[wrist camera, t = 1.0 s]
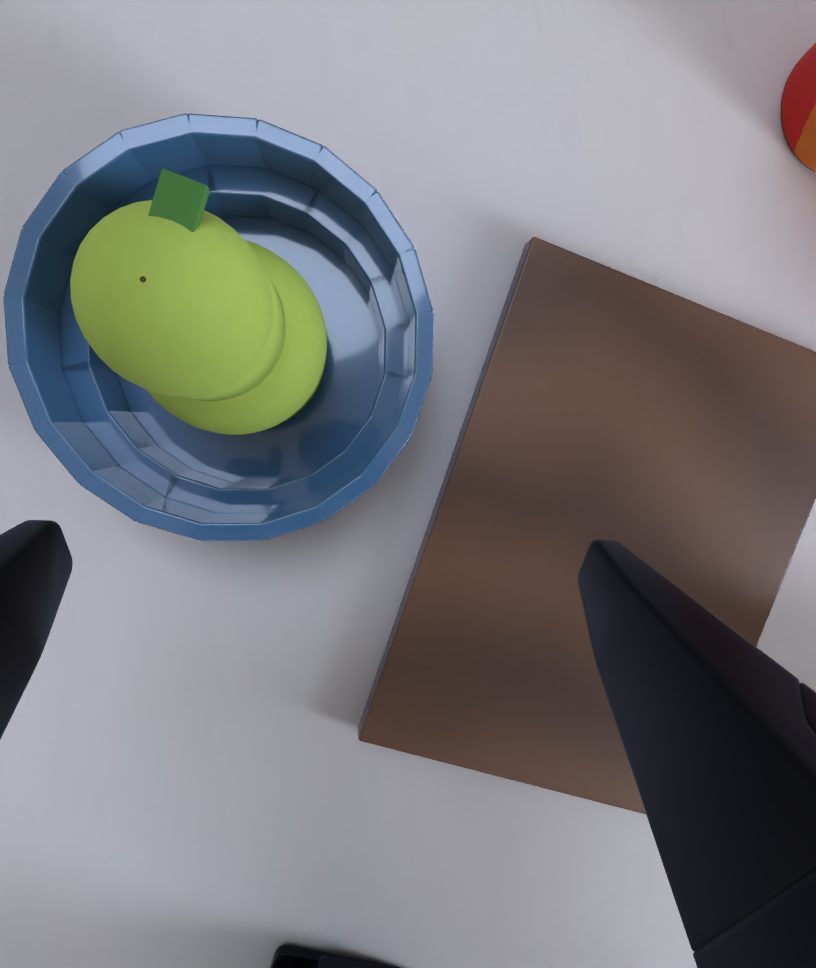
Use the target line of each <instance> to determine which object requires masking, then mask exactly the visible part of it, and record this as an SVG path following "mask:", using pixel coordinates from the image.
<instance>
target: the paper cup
mask: <svg viewBox="0 0 816 968" xmlns="http://www.w3.org/2000/svg"><path fill="white" fill-rule="evenodd" d="M781 116H782V125H783V129H784V133H785V136H786V139H787V141H788V143H789V145H790V147H791V149H792V151H793V152H794V154H795V155H796V156H797V157H798V159H799V160H800V161H801V162H802V163H803V164H805V165H806V166H807V167H809V168H810V169H812V170H813V171H815V172H816V43H815V44H814V45H813V46H812V47H811V48H810V49H809V50H808V51H807V52H806V53H805V54H804V56H803V57H802V58H801V59H800V60H799V61H798V63H797V64H796V65H795V67H794V68H793V70H792V72H791V74H790V75H789V78H788V80H787V82H786V85H785V89H784V92H783V97H782V106H781Z"/></svg>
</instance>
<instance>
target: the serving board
mask: <svg viewBox="0 0 816 968" xmlns="http://www.w3.org/2000/svg"><path fill="white" fill-rule="evenodd" d="M815 499H816V352H814V351H812V350H809V349H807V348H804V347H802V346H799V345H797V344H795V343H792V342H790V341H787V340H785V339H782V338H780V337H778V336H775V335H773V334H770V333H768V332H765V331H763V330H760V329H758V328H756V327H753V326H751V325H748V324H746V323H743V322H741V321H739V320H736V319H734V318H731V317H729V316H726V315H724V314H721V313H719V312H717V311H714V310H712V309H709V308H707V307H704V306H702V305H700V304H697V303H695V302H692V301H690V300H687V299H685V298H682V297H680V296H678V295H675V294H673V293H670V292H668V291H665V290H663V289H661V288H658V287H656V286H653V285H651V284H648V283H646V282H643V281H641V280H639V279H636V278H634V277H631V276H629V275H626V274H624V273H622V272H619V271H617V270H614V269H612V268H609V267H607V266H604V265H602V264H600V263H597V262H595V261H592V260H590V259H587V258H585V257H583V256H580V255H578V254H575V253H573V252H570V251H568V250H565V249H563V248H561V247H558V246H556V245H553V244H551V243H548V242H546V241H543V240H541V239H539V238H536V237H532V238H531V240H530V241H529V242H528V243H527V244H526V245H525V247H524V250H523V253H522V256H521V259H520V262H519V264H518V267H517V270H516V273H515V276H514V279H513V282H512V285H511V288H510V290H509V293H508V296H507V299H506V302H505V305H504V308H503V311H502V314H501V316H500V319H499V322H498V325H497V328H496V331H495V334H494V337H493V340H492V342H491V345H490V348H489V351H488V354H487V357H486V360H485V363H484V366H483V368H482V371H481V374H480V377H479V380H478V383H477V386H476V389H475V392H474V394H473V397H472V400H471V403H470V406H469V409H468V412H467V415H466V418H465V420H464V423H463V426H462V429H461V432H460V435H459V438H458V441H457V443H456V446H455V449H454V452H453V455H452V458H451V461H450V464H449V467H448V469H447V472H446V475H445V478H444V481H443V484H442V487H441V490H440V493H439V495H438V498H437V501H436V504H435V507H434V510H433V513H432V516H431V519H430V521H429V524H428V527H427V530H426V533H425V536H424V539H423V542H422V545H421V547H420V550H419V553H418V556H417V559H416V562H415V565H414V568H413V571H412V573H411V576H410V579H409V582H408V585H407V588H406V591H405V594H404V597H403V599H402V602H401V605H400V608H399V611H398V614H397V617H396V620H395V623H394V625H393V628H392V631H391V634H390V637H389V640H388V643H387V646H386V649H385V651H384V654H383V657H382V660H381V663H380V666H379V669H378V672H377V675H376V677H375V680H374V683H373V686H372V689H371V692H370V695H369V698H368V701H367V703H366V706H365V709H364V712H363V715H362V718H361V721H360V724H359V727H358V735H359V740H360V741H364V742H367V743H371V744H375V745H379V746H383V747H387V748H391V749H395V750H399V751H402V752H406V753H410V754H414V755H418V756H422V757H426V758H430V759H433V760H437V761H441V762H445V763H449V764H453V765H457V766H461V767H465V768H468V769H472V770H476V771H480V772H484V773H488V774H492V775H496V776H500V777H503V778H507V779H511V780H515V781H519V782H523V783H527V784H531V785H534V786H538V787H542V788H546V789H550V790H554V791H558V792H562V793H566V794H569V795H573V796H577V797H581V798H585V799H589V800H593V801H597V802H601V803H604V804H608V805H612V806H616V807H620V808H624V809H628V810H632V811H636V812H639V813H643V814H646V812H645V809H644V806H643V803H642V800H641V797H640V794H639V791H638V788H637V785H636V782H635V779H634V776H633V773H632V770H631V767H630V764H629V761H628V758H627V755H626V752H625V749H624V746H623V743H622V740H621V737H620V734H619V731H618V728H617V725H616V722H615V719H614V716H613V713H612V710H611V707H610V704H609V701H608V698H607V695H606V692H605V689H604V686H603V683H602V680H601V677H600V674H599V671H598V668H597V665H596V662H595V658H594V654H593V650H592V645H591V640H590V636H589V631H588V627H587V622H586V617H585V613H584V608H583V603H582V599H581V594H580V589H579V584H578V574H579V570H580V568H581V565H582V563H583V560H584V558H585V555H586V553H587V550H588V548H589V546H590V544H591V543H592V541H594V540H597V539H602V540H616V541H618V542H620V543H621V544H622V545H624V546H625V547H626V548H628V549H629V550H630V551H631V552H633V553H634V554H635V555H637V556H638V557H639V558H641V559H642V560H643V561H645V562H646V563H647V564H648V565H650V566H651V567H652V568H654V569H655V570H656V571H658V572H659V573H660V574H662V575H663V576H664V577H665V578H667V579H668V580H669V581H671V582H672V583H673V584H675V585H676V586H677V587H679V588H680V589H681V590H682V591H684V592H685V593H686V594H688V595H689V596H690V597H692V598H693V599H694V600H696V601H697V602H698V603H699V604H701V605H702V606H703V607H705V608H706V609H707V610H709V611H710V612H711V613H712V614H714V615H715V616H716V617H718V618H719V619H720V620H722V621H723V622H724V623H726V624H727V625H728V626H729V627H731V628H732V629H733V630H735V631H736V632H737V633H739V634H740V635H741V636H743V637H744V638H745V639H746V640H748V641H749V642H750V643H752V644H753V645H754V646H756V645H757V643H758V640H759V638H760V636H761V633H762V631H763V628H764V626H765V623H766V621H767V618H768V616H769V613H770V611H771V608H772V606H773V603H774V601H775V598H776V596H777V593H778V591H779V588H780V586H781V583H782V581H783V578H784V576H785V573H786V571H787V569H788V566H789V564H790V561H791V559H792V556H793V554H794V551H795V549H796V546H797V544H798V541H799V539H800V536H801V534H802V531H803V529H804V526H805V524H806V521H807V519H808V516H809V514H810V511H811V509H812V507H813V504H814V502H815Z"/></svg>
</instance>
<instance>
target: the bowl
mask: <svg viewBox="0 0 816 968" xmlns="http://www.w3.org/2000/svg"><path fill="white" fill-rule="evenodd" d="M162 168H163V169H166V170H168V171H171V172H174V173H176V174H179V175H181V176H184V177H186V178H189V179H192V180H194V181H197V182H199V183H202V184H204V185H207V186H208V188H209V190H210V192H209V196H208V199H207V202H206V206H205V209H204V210H205V211H207V212H209V213H211V214H213V215H215V216H217V217H219V218H220V219H221V220H223V221H224V222H225V223H227V224H228V225H229V226H231V227H232V228H233V229H234V230H235V231H236V232H237V233H238V234H239V235H240V236H241V237H242V238H243V239H244V240H246V241H249V242H253V243H255V244H258V245H260V246H262V247H264V248H267V249H268V250H270V251H272V252H273V253H275V254H277V255H278V256H280V257H281V258H283V259H284V260H285V261H286V262H288V263H289V264H290V265H291V266H292V267H293V268H294V269H295V270H296V271H297V272H298V273H299V274H300V275H301V276H302V278H303V279H304V280H305V281H306V283H307V284H308V285H309V287H310V289H311V290H312V292H313V294H314V296H315V297H316V299H317V301H318V304H319V306H320V309H321V311H322V314H323V318H324V322H325V327H326V334H327V352H326V362H325V370H324V374H323V378H322V381H321V383H320V386H319V388H318V390H317V391H316V393H315V395H314V396H313V398H312V399H311V400H310V402H309V403H308V404H307V405H306V406H305V407H304V408H303V409H302V410H301V411H300V412H298V413H297V414H296V415H294V416H293V417H291V418H289V419H288V420H286V421H283V422H282V423H280V424H278V425H276V426H274V427H271V428H269V429H266V430H263V431H260V432H256V433H250V434H242V435H228V434H220V433H214V432H210V431H206V430H202V429H199V428H197V427H194V426H192V425H189V424H187V423H185V422H184V421H182V420H180V419H178V418H177V417H175V416H174V415H172V414H171V413H170V412H168V411H167V410H166V409H164V408H163V407H162V406H161V405H160V404H159V403H158V402H157V401H156V400H155V399H154V398H153V397H152V396H151V394H150V393H149V392H148V391H147V390H146V389H144V388H142V387H140V386H138V385H136V384H134V383H131V382H129V381H127V380H126V379H124V378H123V377H122V376H120V375H119V374H117V373H116V372H114V371H113V370H112V369H111V368H110V367H109V366H107V365H106V364H105V363H104V362H103V361H102V360H101V359H100V358H99V357H98V355H97V354H96V353H95V351H94V350H93V349H92V347H91V346H90V344H89V343H88V341H87V340H86V339H85V337H84V336H83V334H82V331H81V329H80V327H79V325H78V323H77V320H76V318H75V314H74V310H73V306H72V302H71V286H70V279H71V274H72V268H73V262H74V259H75V256H76V254H77V251H78V249H79V246H80V244H81V243H82V241H83V240H84V238H85V237H86V235H87V234H88V232H89V231H90V230H91V229H92V228H93V227H94V226H95V225H96V224H97V223H98V222H99V221H100V220H101V219H103V218H104V217H105V216H107V215H109V214H110V213H112V212H114V211H115V210H117V209H119V208H121V207H124V206H127V205H130V204H133V203H136V202H141V201H149V200H153V197H154V194H155V190H156V187H157V183H158V180H159V176H160V173H161V170H162ZM4 295H5V296H4V311H5V325H6V340H7V355H8V364H9V365H10V366H9V369H10V371H11V373H12V376H13V378H14V381H15V383H16V386H17V388H18V391H19V393H20V396H21V398H22V400H23V403H24V405H25V408H26V410H27V413H28V415H29V418H30V420H31V423H32V425H33V428H34V429H35V431H36V433H37V434H38V435H39V436H40V438H41V439H42V440H43V441H44V442H45V444H46V445H47V446H48V447H49V448H50V450H51V451H52V452H53V453H54V455H55V456H56V457H57V458H58V459H59V461H60V462H61V463H62V464H63V465H64V467H65V468H66V469H67V470H68V471H69V473H70V474H71V475H72V476H73V477H74V479H75V480H76V481H77V482H78V483H79V484H80V485H81V486H83V487H84V488H86V489H87V490H89V491H90V492H92V493H93V494H95V495H96V496H98V497H99V498H101V499H102V500H104V501H105V502H107V503H108V504H110V505H111V506H113V507H114V508H116V509H117V510H119V511H120V512H122V513H123V514H125V515H126V516H128V517H130V518H131V519H133V520H134V521H137V522H139V523H142V524H146V525H149V526H152V527H156V528H159V529H162V530H166V531H169V532H172V533H176V534H179V535H182V536H186V537H189V538H193V539H196V540H201V541H256V540H268V539H271V538H274V537H277V536H280V535H283V534H286V533H289V532H292V531H296V530H299V529H302V528H305V527H308V526H311V525H314V524H317V523H320V522H323V521H324V520H327V519H328V518H330V517H331V516H333V515H334V514H335V513H337V512H338V511H340V510H341V509H342V508H344V507H345V506H347V505H348V504H349V503H351V502H352V501H354V500H355V499H356V498H358V497H359V496H361V495H362V494H363V493H365V492H366V491H368V490H369V489H370V488H372V487H373V486H374V484H376V483H377V482H378V481H379V479H380V478H381V477H382V475H383V474H384V473H385V471H386V470H387V469H388V467H389V466H390V464H391V463H392V462H393V460H394V459H395V458H396V456H397V455H398V454H399V452H400V451H401V450H402V448H403V447H404V446H405V444H406V443H407V442H408V440H409V439H410V438H411V435H412V434H413V431H414V428H415V425H416V422H417V419H418V416H419V413H420V410H421V407H422V404H423V401H424V398H425V395H426V393H427V390H428V387H429V384H430V381H431V375H432V356H433V312H432V311H433V309H432V305H431V302H430V298H429V295H428V291H427V288H426V285H425V281H424V278H423V274H422V271H421V267H420V264H419V260H418V257H417V253H416V250H415V249H414V246H413V244H412V243H411V241H410V240H409V238H408V237H407V235H406V233H405V232H404V230H403V229H402V227H401V226H400V224H399V223H398V221H397V220H396V218H395V217H394V215H393V214H392V212H391V210H390V209H389V207H388V206H387V204H386V203H385V201H384V200H383V198H382V197H381V195H380V194H379V192H377V190H376V189H375V188H374V187H373V186H372V185H370V184H369V183H368V182H367V181H366V180H364V179H363V178H362V177H361V176H360V175H358V174H357V173H356V172H355V171H354V170H352V169H351V168H350V167H349V166H348V165H346V164H345V163H344V162H343V161H342V160H340V159H339V158H338V157H337V156H336V155H334V154H333V153H332V152H331V151H330V150H328V149H327V148H326V147H325V146H322V145H321V144H318V143H316V142H313V141H311V140H309V139H306V138H304V137H301V136H299V135H296V134H294V133H292V132H289V131H287V130H284V129H282V128H279V127H277V126H275V125H272V124H270V123H267V122H265V121H262V120H257V119H256V118H242V117H229V116H215V115H202V114H182V115H178V116H174V117H170V118H167V119H163V120H159V121H155V122H152V123H148V124H144V125H140V126H136V127H133V128H129V129H125V130H121V131H120V132H118V133H116V134H115V135H113V136H112V137H110V138H109V139H107V140H106V141H105V142H103V143H102V144H100V145H99V146H97V147H96V148H94V149H93V150H91V151H90V152H89V153H87V154H86V155H84V156H83V157H81V158H80V159H78V160H77V161H76V162H74V163H73V164H71V165H70V166H68V167H67V168H65V169H64V170H63V172H61V173H60V174H59V176H58V177H57V179H56V180H55V181H54V183H53V184H52V186H51V187H50V188H49V190H48V191H47V193H46V194H45V196H44V197H43V198H42V200H41V201H40V203H39V204H38V206H37V207H36V208H35V210H34V211H33V213H32V214H31V215H30V217H29V218H28V220H27V221H26V223H25V224H24V225H23V229H22V230H21V233H20V237H19V240H18V244H17V248H16V251H15V255H14V259H13V262H12V266H11V270H10V273H9V277H8V281H7V284H6V288H5V292H4Z"/></svg>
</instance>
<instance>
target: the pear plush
mask: <svg viewBox="0 0 816 968" xmlns="http://www.w3.org/2000/svg"><path fill="white" fill-rule="evenodd" d="M209 192H210V190H209V188H208V186H207V185H204V184H202V183H199V182H197V181H194V180H192V179H189V178H186V177H184V176H181V175H179V174H176V173H174V172H171V171H168V170H166V169H163V168H162V170H161V173H160V176H159V180H158V183H157V187H156V190H155V194H154V197H153V200H149V201H141V202H136V203H133V204H130V205H127V206H124V207H121V208H119V209H117V210H115V211H114V212H112V213H110V214H109V215H107V216H105V217H104V218H103V219H101V220H100V221H99V222H98V223H97V224H96V225H95V226H94V227H93V228H92V229H91V230H90V231H89V232H88V234H87V235H86V237H85V238H84V240H83V241H82V243H81V244H80V246H79V249H78V251H77V254H76V256H75V259H74V262H73V268H72V274H71V279H70V286H71V302H72V306H73V310H74V314H75V318H76V320H77V323H78V325H79V327H80V329H81V331H82V334H83V336H84V337H85V339H86V340H87V341H88V343H89V344H90V346H91V347H92V349H93V350H94V351H95V353H96V354H97V355H98V357H99V358H100V359H101V360H102V361H103V362H104V363H105V364H106V365H107V366H109V367H110V368H111V369H112V370H113V371H114V372H116V373H117V374H119V375H120V376H122V377H123V378H124V379H126V380H127V381H129V382H131V383H134V384H136V385H138V386H140V387H142V388H144V389H146V390H147V391H148V392H149V393H150V394H151V396H152V397H153V398H154V399H155V400H156V401H157V402H158V403H159V404H160V405H161V406H162V407H163V408H164V409H166V410H167V411H168V412H170V413H171V414H172V415H174V416H175V417H177V418H178V419H180V420H182V421H184V422H185V423H187V424H189V425H192V426H194V427H197V428H199V429H202V430H206V431H210V432H214V433H220V434H228V435H242V434H250V433H256V432H260V431H263V430H266V429H269V428H271V427H274V426H276V425H278V424H280V423H282V422H283V421H286V420H288V419H289V418H291V417H293V416H294V415H296V414H297V413H298V412H300V411H301V410H302V409H303V408H304V407H305V406H306V405H307V404H308V403H309V402H310V400H311V399H312V398H313V396H314V395H315V393H316V391H317V390H318V388H319V386H320V383H321V381H322V378H323V374H324V370H325V362H326V352H327V334H326V327H325V322H324V318H323V314H322V311H321V309H320V306H319V304H318V301H317V299H316V297H315V296H314V294H313V292H312V290H311V289H310V287H309V285H308V284H307V283H306V281H305V280H304V279H303V278H302V276H301V275H300V274H299V273H298V272H297V271H296V270H295V269H294V268H293V267H292V266H291V265H290V264H289V263H288V262H286V261H285V260H284V259H283V258H281V257H280V256H278V255H277V254H275V253H273V252H272V251H270V250H268V249H267V248H264V247H262V246H260V245H258V244H255V243H253V242H249V241H246V240H244V239H243V238H242V237H241V236H240V235H239V234H238V233H237V232H236V231H235V230H234V229H233V228H232V227H231V226H229V225H228V224H227V223H225V222H224V221H223V220H221V219H220V218H219V217H217V216H215V215H213V214H211V213H209V212H207V211H205V210H204V209H205V206H206V202H207V199H208V196H209Z"/></svg>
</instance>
